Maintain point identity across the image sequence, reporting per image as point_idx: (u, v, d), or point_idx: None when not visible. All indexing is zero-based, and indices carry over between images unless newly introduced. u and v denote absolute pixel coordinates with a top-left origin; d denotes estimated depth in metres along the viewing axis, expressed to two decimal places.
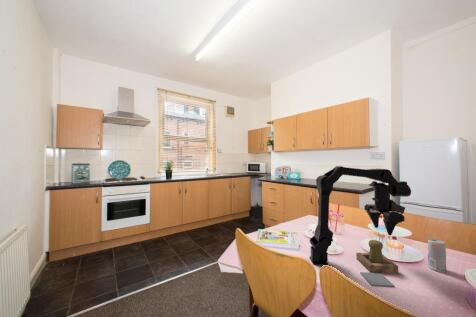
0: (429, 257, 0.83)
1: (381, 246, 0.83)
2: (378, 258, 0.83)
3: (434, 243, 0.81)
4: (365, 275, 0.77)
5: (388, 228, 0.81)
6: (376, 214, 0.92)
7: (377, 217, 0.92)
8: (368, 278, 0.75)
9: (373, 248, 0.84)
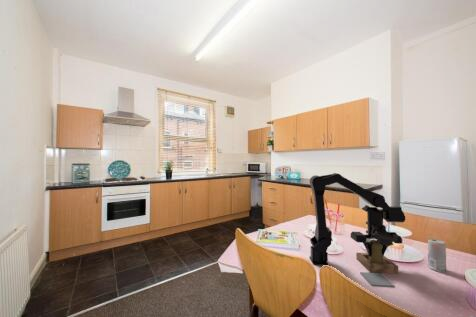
0: (429, 257, 0.83)
1: (381, 246, 0.83)
2: (378, 258, 0.83)
3: (434, 243, 0.81)
4: (365, 275, 0.77)
5: (366, 248, 0.87)
6: None
7: None
8: (368, 278, 0.75)
9: (373, 248, 0.84)
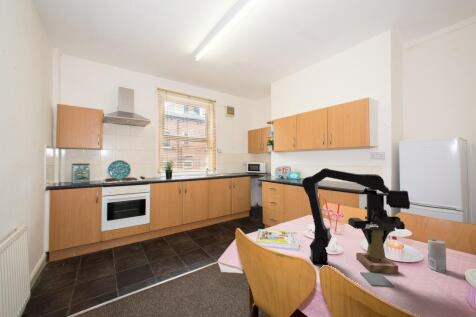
0: (429, 257, 0.83)
1: (382, 233, 0.75)
2: (379, 246, 0.75)
3: (434, 243, 0.81)
4: (365, 275, 0.77)
5: (365, 235, 0.79)
6: None
7: None
8: (368, 278, 0.75)
9: (373, 235, 0.76)
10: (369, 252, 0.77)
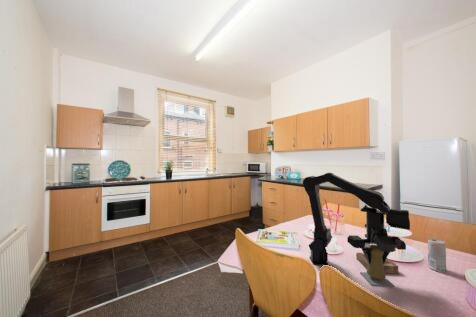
0: (429, 257, 0.83)
1: (382, 252, 0.73)
2: (379, 266, 0.73)
3: (434, 243, 0.81)
4: (365, 275, 0.77)
5: (364, 254, 0.77)
6: None
7: None
8: (368, 278, 0.75)
9: (373, 254, 0.74)
10: (369, 271, 0.75)
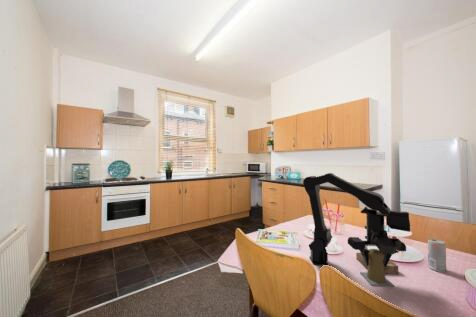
0: (429, 257, 0.83)
1: (382, 256, 0.73)
2: (379, 270, 0.73)
3: (434, 243, 0.81)
4: (365, 275, 0.77)
5: (362, 255, 0.77)
6: None
7: (386, 254, 0.75)
8: None
9: (373, 259, 0.74)
10: (369, 276, 0.75)
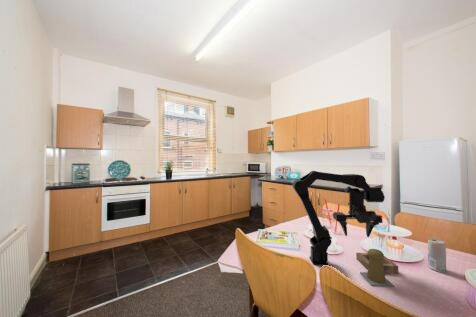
0: (429, 257, 0.83)
1: (382, 256, 0.73)
2: (379, 270, 0.73)
3: (434, 243, 0.81)
4: (365, 275, 0.77)
5: (342, 227, 0.89)
6: (369, 223, 0.86)
7: (369, 226, 0.86)
8: None
9: (373, 259, 0.74)
10: (369, 276, 0.75)
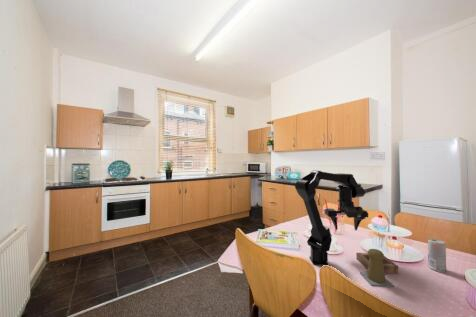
0: (429, 257, 0.83)
1: (382, 256, 0.73)
2: (379, 270, 0.73)
3: (434, 243, 0.81)
4: (365, 275, 0.77)
5: (333, 222, 0.98)
6: (356, 218, 0.95)
7: (356, 221, 0.95)
8: None
9: (373, 259, 0.74)
10: (369, 276, 0.75)
